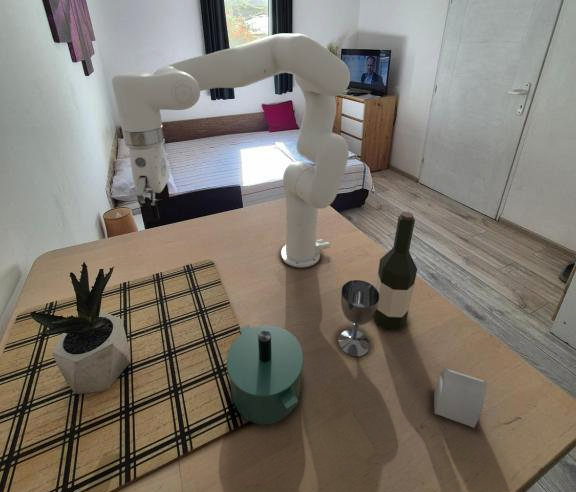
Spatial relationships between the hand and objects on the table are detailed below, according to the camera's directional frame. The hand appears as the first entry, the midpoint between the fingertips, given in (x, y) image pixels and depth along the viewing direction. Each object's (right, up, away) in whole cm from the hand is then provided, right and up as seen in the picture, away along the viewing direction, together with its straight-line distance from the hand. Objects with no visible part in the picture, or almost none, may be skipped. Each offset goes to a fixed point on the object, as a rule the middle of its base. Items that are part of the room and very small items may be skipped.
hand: (157, 209), depth 73 cm
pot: (+25, -35, -7) cm, 44 cm away
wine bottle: (+55, -28, +9) cm, 62 cm away
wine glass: (+45, -31, +2) cm, 55 cm away
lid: (+25, -28, -11) cm, 39 cm away
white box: (+61, -37, -11) cm, 72 cm away
